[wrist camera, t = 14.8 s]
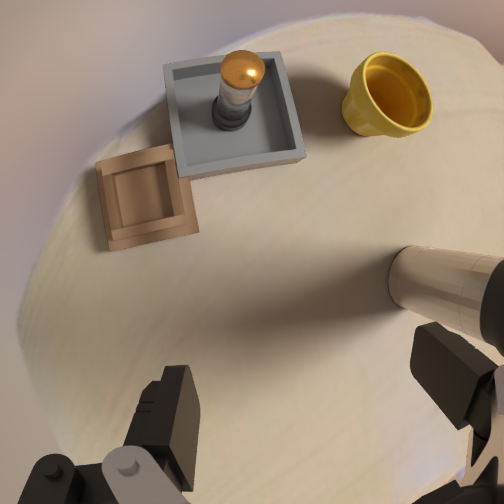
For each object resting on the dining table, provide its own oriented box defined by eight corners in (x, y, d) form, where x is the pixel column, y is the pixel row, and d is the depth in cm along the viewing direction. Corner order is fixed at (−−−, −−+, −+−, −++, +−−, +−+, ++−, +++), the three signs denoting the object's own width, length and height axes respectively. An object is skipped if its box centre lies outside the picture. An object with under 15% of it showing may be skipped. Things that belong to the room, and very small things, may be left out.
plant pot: (315, 87, 35) (346, 53, 25) (373, 77, 36) (410, 50, 26) (346, 157, 36) (388, 139, 27) (401, 140, 37) (445, 124, 28)
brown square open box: (184, 147, 33) (181, 137, 28) (199, 231, 34) (199, 232, 30) (103, 167, 31) (90, 159, 27) (117, 249, 33) (105, 253, 28)
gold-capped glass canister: (247, 98, 33) (267, 47, 21) (249, 131, 33) (272, 89, 21) (210, 99, 32) (215, 46, 20) (212, 132, 33) (217, 90, 21)
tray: (273, 64, 33) (280, 51, 30) (297, 162, 35) (306, 156, 32) (165, 77, 31) (162, 64, 28) (181, 182, 33) (178, 177, 30)
